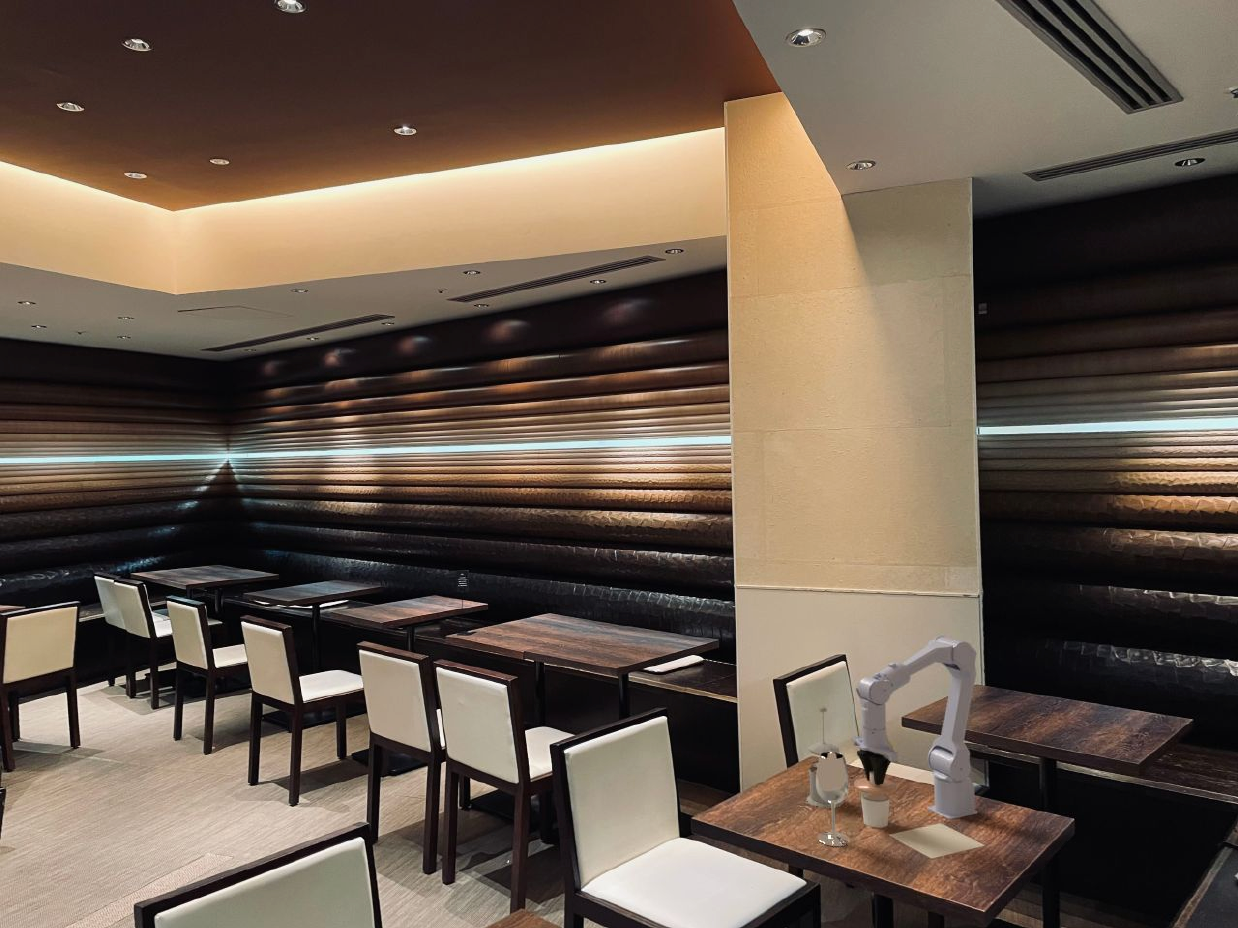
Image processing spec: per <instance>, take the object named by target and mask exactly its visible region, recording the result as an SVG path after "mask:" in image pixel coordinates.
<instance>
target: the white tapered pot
mask: <svg viewBox="0 0 1238 928" xmlns="http://www.w3.org/2000/svg"><path fill="white" fill-rule="evenodd" d="M860 794H861V795H860V799H861V800H860V801H861V808H862V817H863V823H864V825H866V826H868V827H871V828H885V827H887V826H888V823H889V813H890V811H889V810H890V796H889V794H869V793H865V792H862V793H860Z"/></svg>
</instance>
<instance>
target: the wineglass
mask: <svg viewBox="0 0 1238 928" xmlns="http://www.w3.org/2000/svg"><path fill="white" fill-rule="evenodd" d="M844 758H845V755H844V754H842V753H840V752H839V753H838V752H823V753H821V754H820V755H819V758H818V760H819V762H818V767H817V770H816V772H817V773H816V772H815V773H816V789H817V792H818V794H819V796H820V797H821V798H822V799H823V800H824V801H826V802H827V803H829V804H830V805H831V808H830V809H831V831H826V832H821V833H819V834H818V835H817V840H818V841H819V842H820V843H822V844H823V845H826V846H829V847H844V846H847V845H848V843H850V841H851V839H850V837H849V836H848V835H846V834H844V833H841V832H836V831H837V830H836V817H835V816H836V815H835V814H836V811H835V810H836V807H835V806H836V804H838V803H840V802H842V801H843V802H844V801H845V800H846V798H847V797H848V796H849V792H850V779H849V777H850V776H849V772H848V767H847V762H846V763H845V760H846V758H845V759H844Z"/></svg>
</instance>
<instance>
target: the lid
mask: <svg viewBox="0 0 1238 928" xmlns="http://www.w3.org/2000/svg"><path fill="white" fill-rule="evenodd" d="M854 788H855V789H856V790H858V791H860V792H862V793H864V792H865V793H869V794H886V795H890V794H892V793H893V794H894V793H895V792H896V791H897V784H895V783H894V782H892V781H890V780H888V779H884V783H883V784H881V785H876V784H875V781H874V772H873V771H870V781H867V778H866V777H862V778H858V779H855V781H854Z"/></svg>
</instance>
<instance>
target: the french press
mask: <svg viewBox="0 0 1238 928" xmlns="http://www.w3.org/2000/svg"><path fill="white" fill-rule="evenodd" d="M818 711H819V712H822V713H825V712H827V707H826V706H821V707H819V709H818ZM824 717H825V716H824V714H822V731H823V732H822V740H823V741H822V742H815V743H813V744H811V745H809V747H807V748H808V751H809V752H810V753H811V754H814V755H817V756H820V754H821V753H823V752H838V753H840V748H839V747H837V746H836V745H833V744H832V743H829V742H826V741H825V728H824V727H825V723H824V720H825V719H824ZM844 759H845V763H846V764H847V760H846V758H845V757H844ZM818 762H819V759H816V760H813V761H811V762H810V767H809V795H808V796H807V797H806V799H807V800H806V802H807V801H808V802H807V803H808V804H809V803H810V804H809V805H811V804H812V805H811V806H813V805H815V806H814V807H816V806H818V808H823V807H825V808H823V809H831V805H830V804H829V803H827V802H826V801H824V800H823V799H822V798H821V797H820V796H819V794H818V792H817V789H816V773H817V767H818ZM815 771H816V772H815ZM843 802H844V800H843V801H842V802H840V803H838V804H836V806H835V808H838V806H839V807H841V806H840V805H841V804H843ZM843 805H844V804H843Z"/></svg>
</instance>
